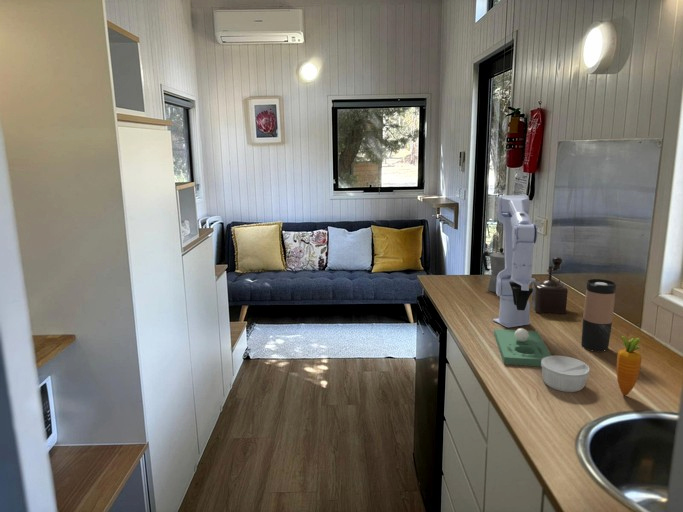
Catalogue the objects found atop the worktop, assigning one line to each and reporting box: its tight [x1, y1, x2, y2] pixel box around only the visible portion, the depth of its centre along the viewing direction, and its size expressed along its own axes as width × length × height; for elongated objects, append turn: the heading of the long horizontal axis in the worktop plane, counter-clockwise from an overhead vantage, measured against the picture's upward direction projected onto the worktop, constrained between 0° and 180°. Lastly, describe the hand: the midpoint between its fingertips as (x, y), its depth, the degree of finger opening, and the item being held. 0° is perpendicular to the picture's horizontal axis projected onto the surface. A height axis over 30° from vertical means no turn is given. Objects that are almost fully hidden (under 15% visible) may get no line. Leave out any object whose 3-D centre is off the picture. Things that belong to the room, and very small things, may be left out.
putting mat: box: [493, 328, 553, 367], centre depth 145 cm, size 22×13×2 cm, turn 170°
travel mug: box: [581, 278, 617, 352], centre depth 144 cm, size 8×8×20 cm
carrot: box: [616, 335, 642, 396], centre depth 116 cm, size 5×5×15 cm
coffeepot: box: [481, 247, 505, 294], centre depth 204 cm, size 15×9×18 cm, turn 44°
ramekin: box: [540, 355, 591, 393], centre depth 124 cm, size 11×11×5 cm
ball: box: [514, 327, 529, 342], centre depth 146 cm, size 4×4×4 cm
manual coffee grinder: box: [530, 256, 569, 315], centre depth 181 cm, size 16×11×18 cm
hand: (519, 307), depth 151 cm, fingers open, 5 cm apart
